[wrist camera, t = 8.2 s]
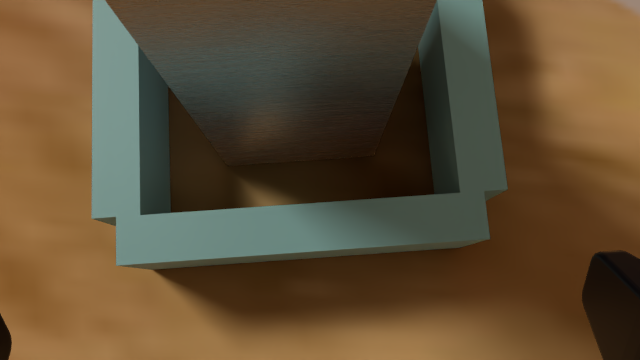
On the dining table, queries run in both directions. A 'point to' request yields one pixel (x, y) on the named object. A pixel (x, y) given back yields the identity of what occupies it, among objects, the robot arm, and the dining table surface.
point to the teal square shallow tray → (297, 219)
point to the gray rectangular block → (282, 70)
